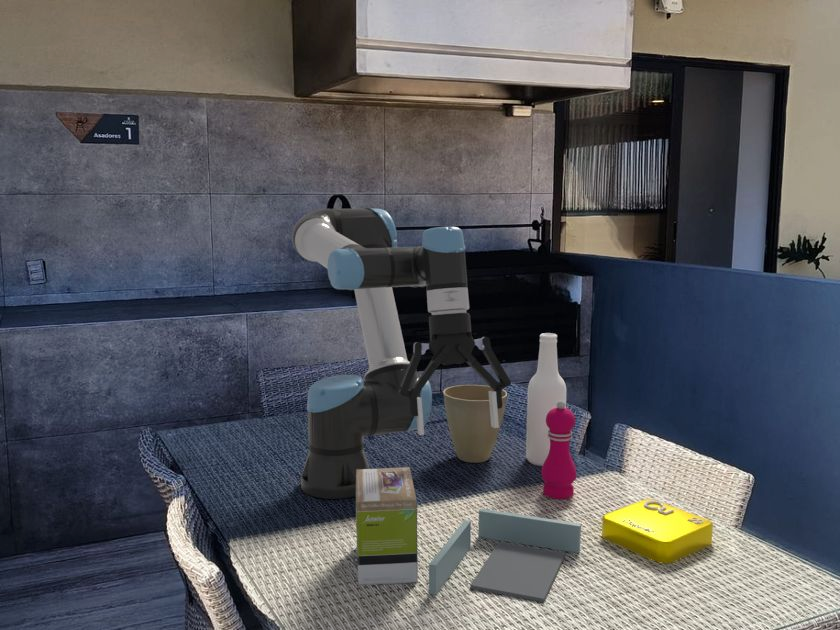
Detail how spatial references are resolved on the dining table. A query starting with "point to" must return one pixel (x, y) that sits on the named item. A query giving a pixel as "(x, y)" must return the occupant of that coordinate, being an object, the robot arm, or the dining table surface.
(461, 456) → the plant pot
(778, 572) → the dining table surface
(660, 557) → the element tile
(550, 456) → the pepper mill
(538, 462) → the alcohol
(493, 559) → the mat
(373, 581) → the tea box
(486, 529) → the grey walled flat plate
